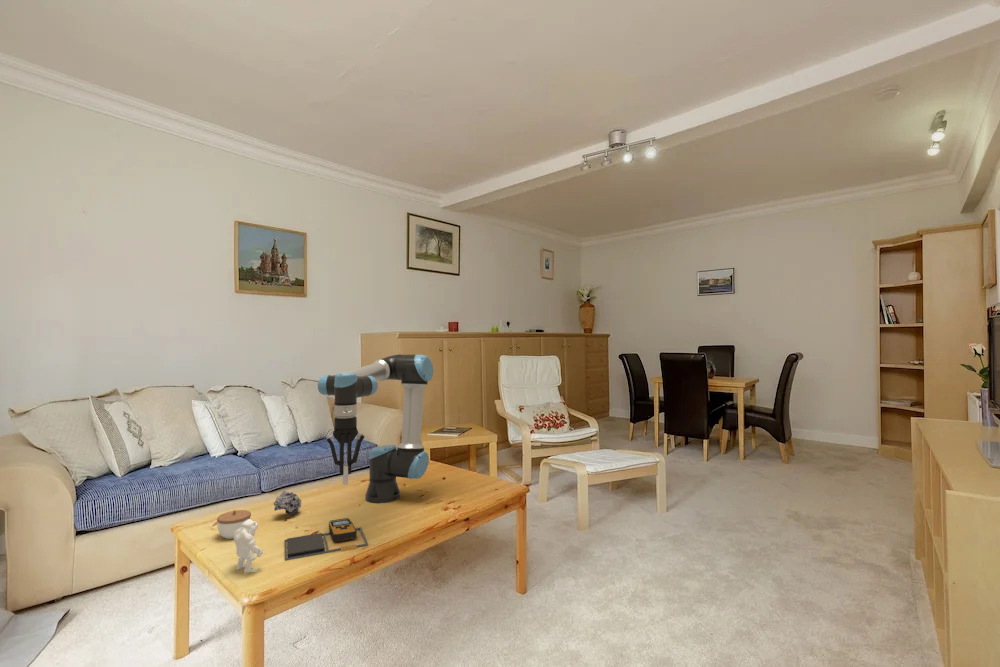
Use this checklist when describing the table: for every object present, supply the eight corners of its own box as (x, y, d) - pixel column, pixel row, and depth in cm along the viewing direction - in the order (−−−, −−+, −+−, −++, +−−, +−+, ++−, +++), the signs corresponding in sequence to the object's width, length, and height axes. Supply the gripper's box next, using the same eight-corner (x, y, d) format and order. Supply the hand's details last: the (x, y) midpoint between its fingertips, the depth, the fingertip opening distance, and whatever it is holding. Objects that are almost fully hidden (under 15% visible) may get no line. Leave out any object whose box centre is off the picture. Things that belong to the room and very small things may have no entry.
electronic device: (332, 543, 164) (332, 533, 164) (327, 529, 178) (327, 520, 178) (357, 539, 168) (357, 529, 168) (350, 525, 182) (350, 516, 182)
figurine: (227, 570, 147) (227, 521, 148) (248, 561, 153) (248, 514, 153) (245, 579, 141) (245, 529, 141) (266, 570, 147) (267, 521, 147)
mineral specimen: (296, 509, 199) (296, 486, 200) (308, 514, 194) (308, 490, 194) (267, 518, 190) (267, 493, 190) (278, 524, 184) (278, 498, 184)
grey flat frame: (284, 543, 167) (284, 537, 167) (360, 530, 178) (360, 525, 178) (284, 563, 151) (284, 557, 151) (368, 548, 162) (368, 542, 162)
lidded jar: (227, 545, 165) (227, 518, 165) (210, 538, 171) (211, 512, 171) (256, 534, 174) (257, 508, 174) (240, 528, 180) (240, 503, 180)
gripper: (326, 419, 162) (326, 489, 162) (366, 416, 168) (366, 484, 167) (325, 416, 169) (324, 483, 168) (362, 413, 174) (362, 478, 174)
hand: (345, 483), depth 168 cm, fingers closed
